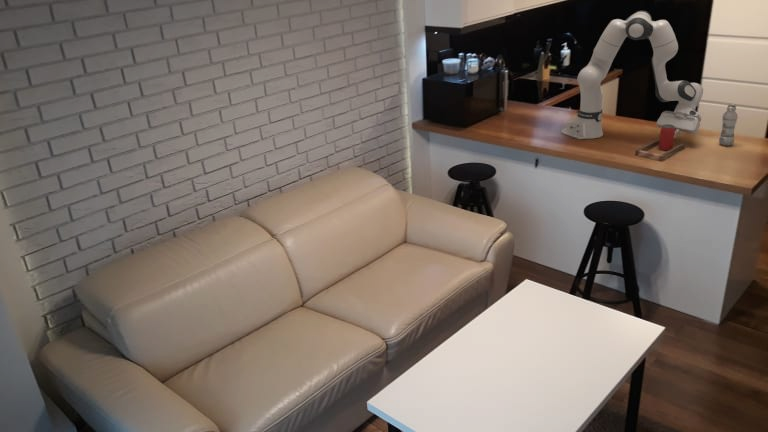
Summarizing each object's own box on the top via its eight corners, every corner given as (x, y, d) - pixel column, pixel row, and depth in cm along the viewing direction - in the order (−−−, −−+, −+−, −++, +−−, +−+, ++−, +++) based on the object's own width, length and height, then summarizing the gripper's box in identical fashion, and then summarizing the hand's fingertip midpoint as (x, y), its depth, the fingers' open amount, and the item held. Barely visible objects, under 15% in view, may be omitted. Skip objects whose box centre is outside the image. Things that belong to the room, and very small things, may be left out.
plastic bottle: (734, 147, 302) (740, 108, 293) (718, 146, 304) (724, 108, 296) (732, 142, 307) (738, 104, 299) (717, 142, 310) (723, 104, 301)
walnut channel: (635, 155, 305) (635, 150, 304) (657, 143, 317) (658, 138, 315) (662, 161, 295) (662, 156, 294) (684, 148, 307) (684, 143, 305)
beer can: (674, 150, 305) (676, 127, 300) (660, 151, 307) (662, 128, 301) (671, 146, 311) (673, 123, 306) (657, 146, 312) (659, 124, 307)
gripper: (661, 107, 316) (649, 130, 315) (701, 113, 301) (689, 137, 300) (665, 113, 320) (653, 136, 319) (704, 120, 305) (692, 143, 304)
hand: (671, 137), depth 309 cm, fingers closed
